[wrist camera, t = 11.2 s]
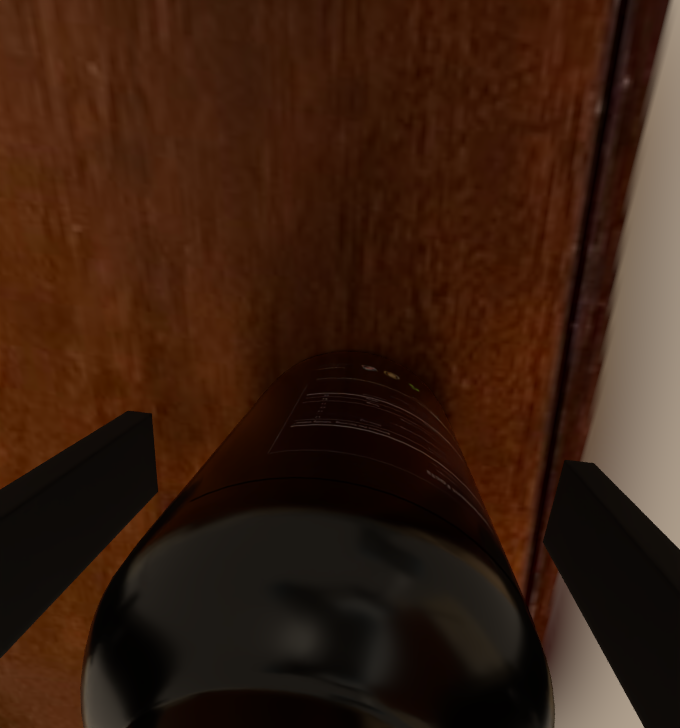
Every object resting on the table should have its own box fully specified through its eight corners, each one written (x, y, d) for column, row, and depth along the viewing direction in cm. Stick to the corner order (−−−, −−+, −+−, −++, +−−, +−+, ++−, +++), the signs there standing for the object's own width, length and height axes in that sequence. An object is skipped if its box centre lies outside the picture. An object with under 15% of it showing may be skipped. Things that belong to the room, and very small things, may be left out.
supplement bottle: (401, 546, 15) (466, 1631, 3) (235, 479, 15) (-314, 1317, 3) (487, 391, 12) (1617, 1911, 1) (294, 312, 12) (-697, 977, 1)
